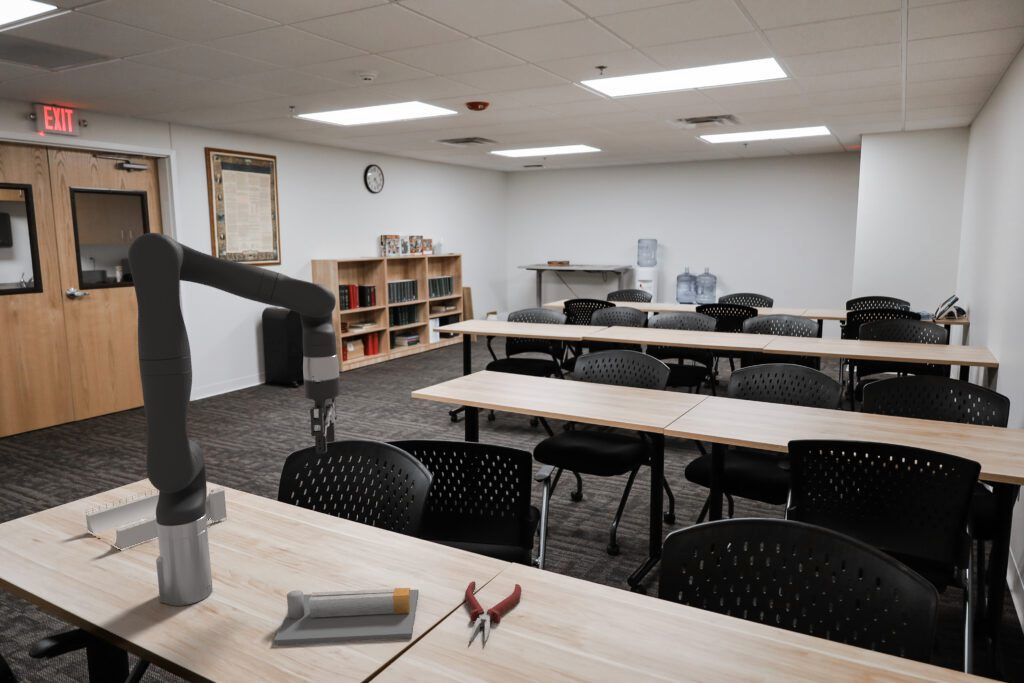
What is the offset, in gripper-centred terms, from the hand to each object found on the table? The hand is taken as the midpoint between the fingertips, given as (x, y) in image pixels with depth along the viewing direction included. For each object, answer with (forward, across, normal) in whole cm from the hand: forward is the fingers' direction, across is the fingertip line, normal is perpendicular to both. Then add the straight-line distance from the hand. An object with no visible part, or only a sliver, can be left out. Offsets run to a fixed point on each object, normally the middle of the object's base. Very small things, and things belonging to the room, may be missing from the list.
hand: (325, 447), depth 149 cm
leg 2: (+27, +23, +10) cm, 37 cm away
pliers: (+29, +22, +34) cm, 49 cm away
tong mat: (+28, +22, +8) cm, 37 cm away
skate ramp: (+29, -27, -51) cm, 64 cm away
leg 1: (+27, +21, +10) cm, 36 cm away
